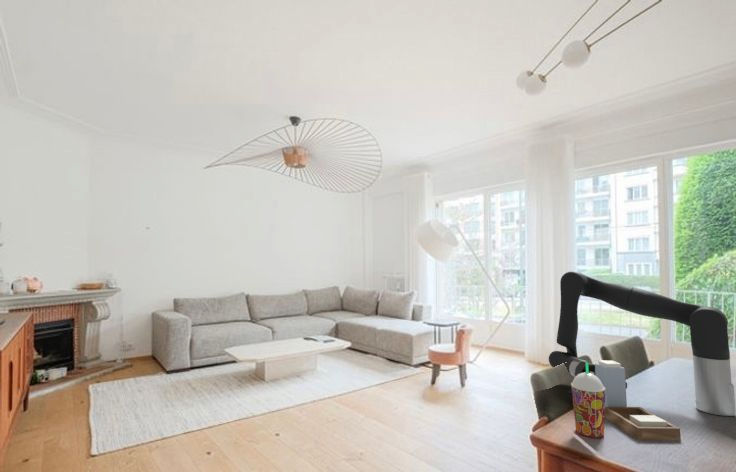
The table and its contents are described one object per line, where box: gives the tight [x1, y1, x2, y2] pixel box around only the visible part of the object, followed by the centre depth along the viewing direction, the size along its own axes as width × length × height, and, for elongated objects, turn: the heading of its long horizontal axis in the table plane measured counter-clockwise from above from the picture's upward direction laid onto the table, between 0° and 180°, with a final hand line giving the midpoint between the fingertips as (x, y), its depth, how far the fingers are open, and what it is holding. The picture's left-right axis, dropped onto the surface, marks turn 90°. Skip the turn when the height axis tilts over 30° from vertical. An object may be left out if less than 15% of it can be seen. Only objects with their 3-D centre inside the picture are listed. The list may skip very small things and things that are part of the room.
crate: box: [604, 406, 682, 441], centre depth 112 cm, size 16×11×4 cm
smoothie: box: [570, 363, 605, 439], centre depth 109 cm, size 8×8×20 cm
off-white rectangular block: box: [630, 414, 668, 427], centre depth 108 cm, size 4×7×4 cm, turn 89°
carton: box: [594, 359, 628, 407], centre depth 125 cm, size 6×6×16 cm
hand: (612, 385), depth 125 cm, fingers open, 8 cm apart
